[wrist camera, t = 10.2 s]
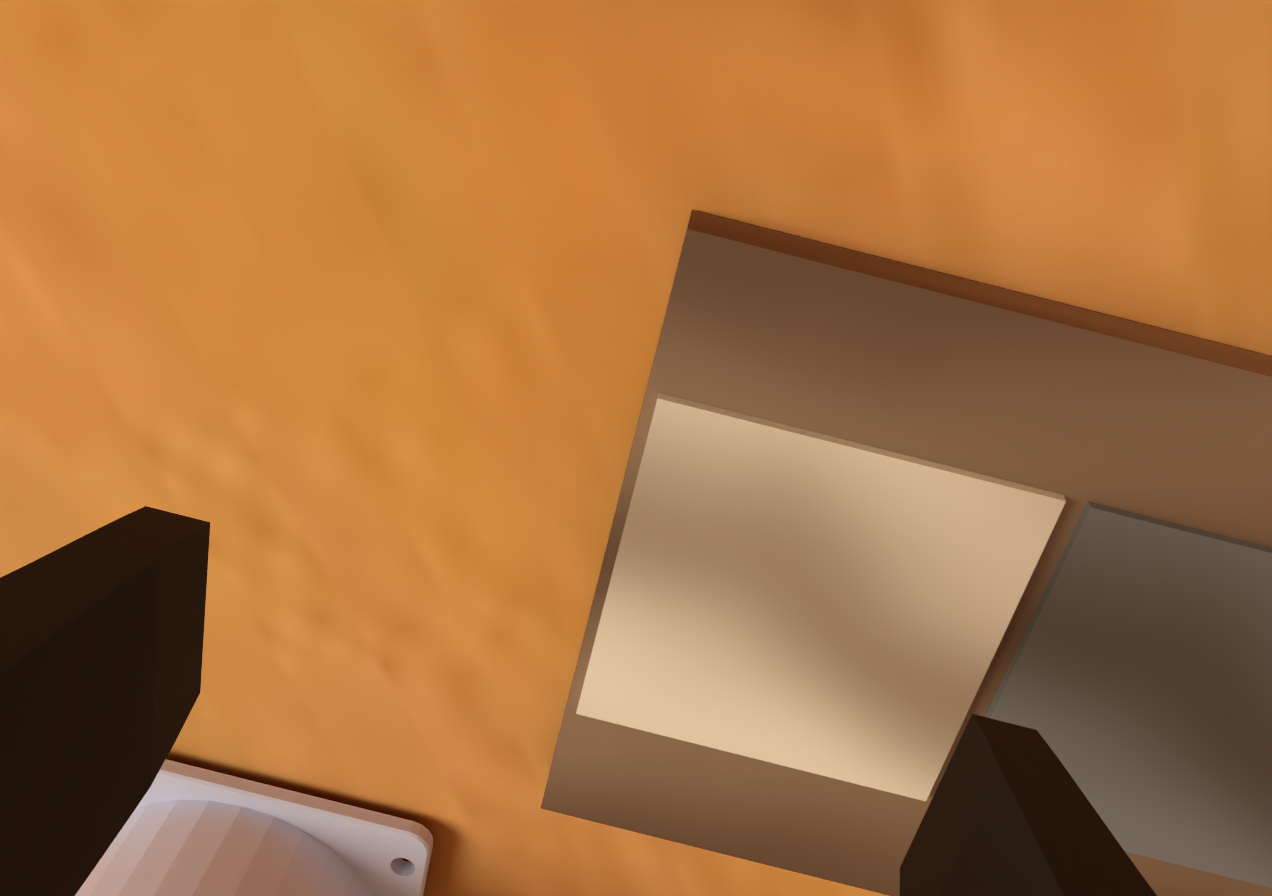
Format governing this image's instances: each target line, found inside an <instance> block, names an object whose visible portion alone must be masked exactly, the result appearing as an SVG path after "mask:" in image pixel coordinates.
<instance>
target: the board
mask: <svg viewBox="0 0 1272 896" xmlns="http://www.w3.org/2000/svg"><path fill="white" fill-rule="evenodd" d="M972 714H975V715H979V716H983V717H987V718H991V719H995V720H999V721H1003V722H1007V723H1011V724H1015V725H1019V726H1023V727H1027V728H1031V729H1035V730H1037V731H1038V732H1039V734H1040V735H1041V736H1042V737H1043V739H1044V740H1045V741H1046V743H1047V744H1048V745H1049V746H1050V748H1051V749H1052V750H1053V752H1054V753H1055V755H1056V756H1057V757H1058V759H1059V760H1060V761H1061V763H1062V764H1063V766H1064V767H1065V768H1066V770H1067V771H1068V772H1069V774H1070V775H1071V777H1072V778H1073V779H1074V781H1075V782H1076V784H1077V785H1078V787H1079V788H1080V789H1081V791H1082V792H1083V794H1084V795H1085V796H1086V798H1087V799H1088V801H1089V802H1090V803H1091V805H1092V806H1093V808H1094V809H1095V810H1096V812H1097V813H1098V815H1099V816H1100V817H1101V819H1102V820H1103V822H1104V823H1105V824H1106V826H1107V827H1108V829H1109V830H1110V831H1111V833H1112V834H1113V836H1114V837H1115V838H1116V840H1117V841H1118V843H1119V844H1120V846H1121V847H1122V848H1123V850H1124V851H1125V852H1126V854H1127V855H1128V857H1129V858H1130V859H1131V861H1132V862H1133V863H1134V865H1135V866H1136V868H1137V869H1138V870H1139V872H1140V873H1141V874H1142V876H1143V877H1144V879H1145V880H1146V881H1147V883H1148V884H1149V885H1150V887H1151V888H1152V889H1153V891H1154V892H1155V893H1156V895H1157V896H1272V356H1268V355H1264V354H1260V353H1256V352H1252V351H1249V350H1245V349H1241V348H1237V347H1233V346H1229V345H1225V344H1221V343H1217V342H1213V341H1209V340H1205V339H1201V338H1197V337H1193V336H1189V335H1185V334H1181V333H1177V332H1173V331H1169V330H1166V329H1162V328H1158V327H1154V326H1150V325H1146V324H1142V323H1138V322H1134V321H1130V320H1126V319H1122V318H1118V317H1114V316H1110V315H1106V314H1102V313H1098V312H1094V311H1090V310H1087V309H1083V308H1079V307H1075V306H1071V305H1067V304H1063V303H1059V302H1055V301H1051V300H1047V299H1043V298H1039V297H1035V296H1031V295H1027V294H1023V293H1019V292H1015V291H1011V290H1007V289H1004V288H1000V287H996V286H992V285H988V284H984V283H980V282H976V281H972V280H968V279H964V278H960V277H956V276H952V275H948V274H944V273H940V272H936V271H932V270H928V269H924V268H921V267H917V266H913V265H909V264H905V263H901V262H897V261H893V260H889V259H885V258H881V257H877V256H873V255H869V254H865V253H861V252H857V251H853V250H849V249H845V248H842V247H838V246H834V245H830V244H826V243H822V242H818V241H814V240H810V239H806V238H802V237H798V236H794V235H790V234H786V233H782V232H778V231H774V230H770V229H766V228H762V227H759V226H755V225H751V224H747V223H743V222H739V221H735V220H731V219H727V218H723V217H719V216H715V215H711V214H707V213H703V212H699V211H695V210H692V212H691V216H690V220H689V224H688V228H687V232H686V236H685V240H684V244H683V248H682V251H681V255H680V259H679V263H678V267H677V271H676V275H675V279H674V283H673V287H672V291H671V295H670V299H669V303H668V307H667V311H666V315H665V319H664V323H663V327H662V331H661V334H660V338H659V342H658V346H657V350H656V354H655V358H654V362H653V366H652V370H651V374H650V378H649V382H648V386H647V390H646V394H645V398H644V402H643V406H642V410H641V413H640V417H639V421H638V425H637V429H636V433H635V437H634V441H633V445H632V449H631V453H630V457H629V461H628V465H627V469H626V473H625V477H624V481H623V485H622V489H621V492H620V496H619V500H618V504H617V508H616V512H615V516H614V520H613V524H612V528H611V532H610V536H609V540H608V544H607V548H606V552H605V556H604V560H603V564H602V568H601V571H600V575H599V579H598V583H597V587H596V591H595V595H594V599H593V603H592V607H591V611H590V615H589V619H588V623H587V627H586V631H585V635H584V639H583V643H582V647H581V651H580V654H579V658H578V662H577V666H576V670H575V674H574V678H573V682H572V686H571V690H570V694H569V698H568V702H567V706H566V710H565V714H564V718H563V722H562V726H561V730H560V733H559V737H558V741H557V745H556V749H555V753H554V757H553V761H552V765H551V769H550V773H549V777H548V781H547V785H546V789H545V793H544V797H543V801H542V805H541V808H542V809H546V810H550V811H554V812H558V813H562V814H566V815H570V816H574V817H578V818H582V819H586V820H590V821H594V822H598V823H602V824H606V825H610V826H614V827H618V828H622V829H626V830H630V831H634V832H638V833H642V834H646V835H650V836H654V837H658V838H662V839H666V840H670V841H674V842H678V843H682V844H686V845H690V846H694V847H698V848H702V849H706V850H710V851H714V852H718V853H722V854H726V855H730V856H734V857H738V858H742V859H746V860H750V861H754V862H758V863H762V864H766V865H770V866H774V867H778V868H782V869H786V870H790V871H794V872H798V873H802V874H806V875H810V876H814V877H818V878H822V879H826V880H830V881H834V882H838V883H842V884H846V885H850V886H854V887H858V888H862V889H866V890H870V891H874V892H878V893H882V894H886V895H890V896H899V895H900V866H901V864H902V862H903V860H904V858H905V856H906V854H907V851H908V849H909V847H910V845H911V843H912V841H913V839H914V837H915V834H916V832H917V830H918V828H919V826H920V824H921V822H922V819H923V817H924V815H925V813H926V811H927V809H928V807H929V805H930V802H931V800H932V798H933V796H934V794H935V792H936V790H937V788H938V785H939V783H940V781H941V779H942V777H943V775H944V773H945V770H946V768H947V766H948V764H949V762H950V760H951V758H952V756H953V753H954V751H955V749H956V747H957V745H958V743H959V741H960V739H961V736H962V734H963V732H964V730H965V728H966V726H967V724H968V722H969V719H970V717H971V715H972Z"/></svg>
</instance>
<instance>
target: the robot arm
mask: <svg viewBox="0 0 1272 896" xmlns="http://www.w3.org/2000/svg"><path fill="white" fill-rule="evenodd" d="M209 532H210V522H206V521H202V520H198V519H194V518H190V517H186V516H182V515H178V514H174V513H170V512H166V511H162V510H158V509H154V508H150V507H146V506H145V507H143V508H141V509H139V510H137V511H134V512H132V513H130V514H128V515H126V516H124V517H122V518H119V519H117V520H115V521H113V522H111V523H109V524H107V525H105V526H103V527H101V528H99V529H97V530H95V531H93V532H91V533H89V534H87V535H85V536H83V537H81V538H79V539H77V540H75V541H73V542H71V543H69V544H67V545H66V546H64V547H62V548H60V549H58V550H56V551H54V552H52V553H50V554H48V555H46V556H44V557H42V558H40V559H38V560H36V561H34V562H32V563H30V564H28V565H26V566H24V567H22V568H20V569H18V570H16V571H13V572H11V573H9V574H7V575H5V576H3V577H1V578H0V896H423V894H424V889H425V884H426V879H427V874H428V869H429V864H430V859H431V854H432V848H433V836H432V834H431V833H430V831H429V830H428V829H427V828H426V827H424V826H423V825H422V824H420V823H417V822H415V821H411V820H407V819H403V818H399V817H395V816H391V815H387V814H383V813H379V812H375V811H371V810H367V809H363V808H359V807H355V806H351V805H347V804H343V803H339V802H335V801H331V800H327V799H323V798H319V797H315V796H311V795H307V794H303V793H299V792H295V791H291V790H287V789H283V788H279V787H275V786H271V785H267V784H263V783H259V782H255V781H251V780H247V779H243V778H239V777H235V776H231V775H227V774H223V773H219V772H215V771H211V770H207V769H203V768H199V767H195V766H191V765H187V764H183V763H179V762H175V761H171V760H167V759H166V757H167V756H168V754H169V752H170V750H171V748H172V746H173V744H174V743H175V741H176V739H177V737H178V735H179V733H180V731H181V729H182V727H183V725H184V723H185V721H186V719H187V717H188V715H189V713H190V711H191V709H192V707H193V705H194V703H195V701H196V699H197V698H198V696H199V694H200V685H201V668H202V651H203V634H204V617H205V600H206V583H207V566H208V549H209ZM400 858H405V859H407V860H409V861H411V862H409V861H405V860H402V859H400ZM899 896H1157V895H1156V893H1155V892H1154V891H1153V889H1152V888H1151V887H1150V885H1149V884H1148V883H1147V881H1146V880H1145V879H1144V877H1143V876H1142V874H1141V873H1140V872H1139V870H1138V869H1137V868H1136V866H1135V865H1134V863H1133V862H1132V861H1131V859H1130V858H1129V857H1128V855H1127V854H1126V852H1125V851H1124V850H1123V848H1122V847H1121V846H1120V844H1119V843H1118V841H1117V840H1116V838H1115V837H1114V836H1113V834H1112V833H1111V831H1110V830H1109V829H1108V827H1107V826H1106V824H1105V823H1104V822H1103V820H1102V819H1101V817H1100V816H1099V815H1098V813H1097V812H1096V810H1095V809H1094V808H1093V806H1092V805H1091V803H1090V802H1089V801H1088V799H1087V798H1086V796H1085V795H1084V794H1083V792H1082V791H1081V789H1080V788H1079V787H1078V785H1077V784H1076V782H1075V781H1074V779H1073V778H1072V777H1071V775H1070V774H1069V772H1068V771H1067V770H1066V768H1065V767H1064V766H1063V764H1062V763H1061V761H1060V760H1059V759H1058V757H1057V756H1056V755H1055V753H1054V752H1053V750H1052V749H1051V748H1050V746H1049V745H1048V744H1047V743H1046V741H1045V740H1044V739H1043V737H1042V736H1041V735H1040V734H1039V732H1038V731H1037V730H1035V729H1031V728H1027V727H1023V726H1019V725H1015V724H1011V723H1007V722H1003V721H999V720H995V719H991V718H987V717H983V716H979V715H975V714H972V715H971V717H970V719H969V722H968V724H967V726H966V728H965V730H964V732H963V734H962V736H961V739H960V741H959V743H958V745H957V747H956V749H955V751H954V753H953V756H952V758H951V760H950V762H949V764H948V766H947V768H946V770H945V773H944V775H943V777H942V779H941V781H940V783H939V785H938V788H937V790H936V792H935V794H934V796H933V798H932V800H931V802H930V805H929V807H928V809H927V811H926V813H925V815H924V817H923V819H922V822H921V824H920V826H919V828H918V830H917V832H916V834H915V837H914V839H913V841H912V843H911V845H910V847H909V849H908V851H907V854H906V856H905V858H904V860H903V862H902V864H901V866H900V895H899Z"/></svg>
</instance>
